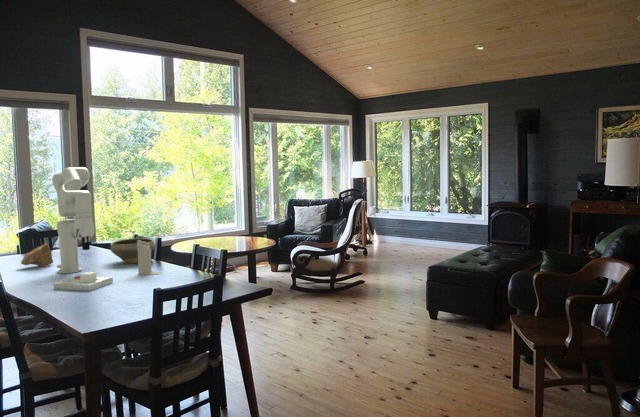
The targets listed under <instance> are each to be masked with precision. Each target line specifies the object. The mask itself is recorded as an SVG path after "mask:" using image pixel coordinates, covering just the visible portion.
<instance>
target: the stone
mask: <svg viewBox="0 0 640 417" xmlns="http://www.w3.org/2000/svg"><path fill="white" fill-rule="evenodd" d="M23 256H24V257H23V258H22V260H21V261H20V264H21V265H24V266H30V265H33V266H34V265H35V266H38V267H43V266H44V267H45V266H49V265H52V264H54V259H53V255H52V250H51V249H50V247H49V243H47V242H44V243H43V244H41V245H40V246H37V247H35V248H33V249H32V250H31V251H29V252H27V253H25V254H24V255H23Z"/></svg>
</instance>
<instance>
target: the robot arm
mask: <svg viewBox="0 0 640 417" xmlns="http://www.w3.org/2000/svg"><path fill="white" fill-rule="evenodd" d="M90 175H91V174H90V171H89V169H88V168H86V167H83V166H80V167H79V166H75V167H74V166H73V167H72V166H71V167H65V168H63V169H62V170H61V172H59V173H55V174H53V175H52V186H53V188H54V190H55V191H56V195H57V196H56V197H57V206H58V207H57V209H58V215H59V216H60V217H62V218H65V219H62V220H59V221H58V222H57V223H56V230H57V231H56V232H57V234H58V240H59V241H58V242H59V252H60V254H59V255H60V263H59V264H57V265H56V268H57V269H59V270H58V273H59V274H74V273H79V272H82V270H83V268H82V267H80V264H79V248H78V241H80V243H81V244H82V245H81V246H82V248H81V250H83V251H89V250H90V248H91V247H90V246H91V245H90V242H91V239H92V238H93V237H94V235H95V223H94V219H93V218H94V217H93V210H92V194H91V192H90V191H89V190H84V189H83V190H80V189H81V188H83V187H84V186H86V185H87V183H89V180H90V179H91V176H90ZM74 217H75V218H74ZM68 218H69V219H68ZM74 237H75V238H74Z"/></svg>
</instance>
